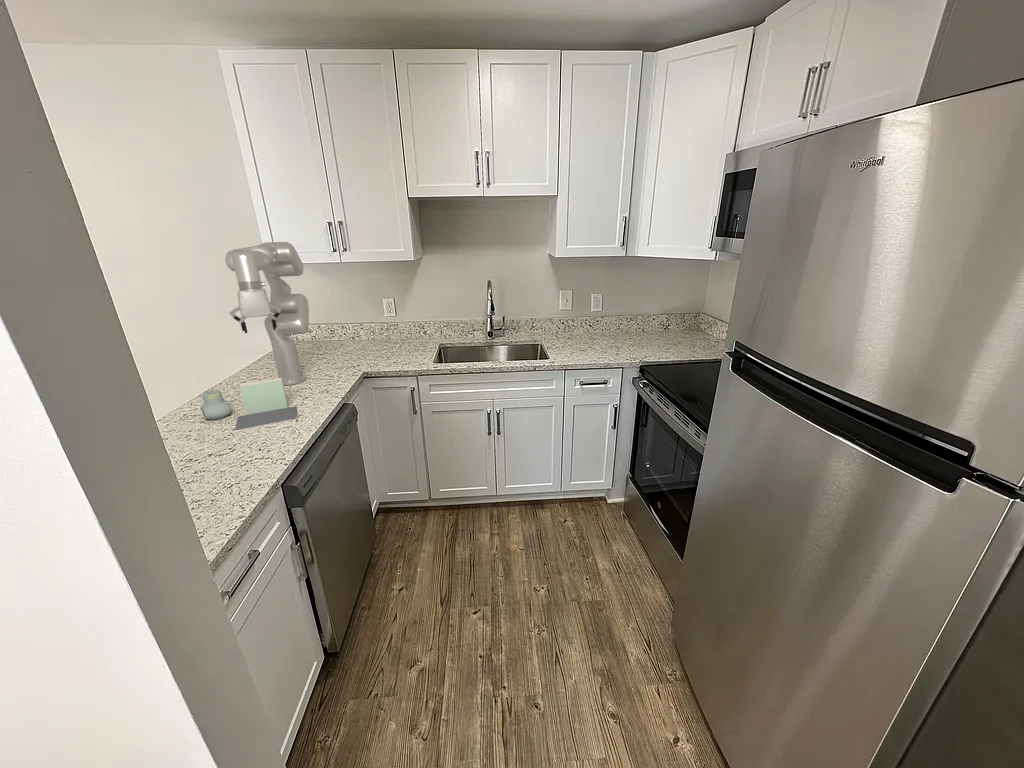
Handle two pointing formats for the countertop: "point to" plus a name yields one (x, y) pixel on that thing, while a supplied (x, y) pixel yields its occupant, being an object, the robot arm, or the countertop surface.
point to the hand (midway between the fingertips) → (260, 331)
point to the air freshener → (215, 405)
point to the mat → (265, 417)
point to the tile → (263, 396)
